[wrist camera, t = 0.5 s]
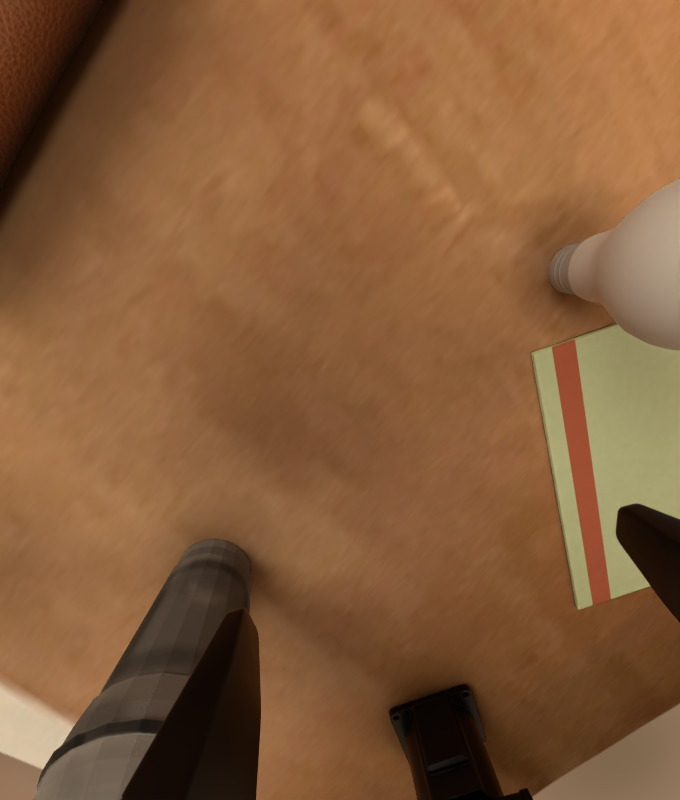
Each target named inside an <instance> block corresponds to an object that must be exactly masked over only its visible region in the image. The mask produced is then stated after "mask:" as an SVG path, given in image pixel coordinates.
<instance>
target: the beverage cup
mask: <svg viewBox="0 0 680 800" xmlns="http://www.w3.org/2000/svg"><path fill="white" fill-rule="evenodd" d="M250 572H251V568H250V561H249V559H248V557H247V556H246V554H245V552H243V551H242V550H241V549H240V548H239V547H238V546H236V545H234V544H232V543H230V542H228V541H223V540H217V539H214V540H204V541H201V542H199V543H196V544H194V545H193V546H191V547H190V548H189V549H187V550H186V551H185V553H184V554H183V556H182V558H181V559H180V561H179V563H178V565H177V566H175V568H174V569H173V571H172V573H171V574H170V576H169V577H168V579H167V581H166V583H165V584H164V586H163V588H162V589H161V591H160V593H159V594H158V596H157V598H156V599H155V601H154V603H153V605H152V606H151V608H150V610H149V611H148V613H147V615H146V616H145V618H144V620H143V622H142V623H141V625H140V627H139V628H138V630H137V632H136V633H135V635H134V637H133V638H132V640H131V642H130V644H129V645H128V647H127V649H126V650H125V652H124V654H123V655H122V657H121V659H120V660H119V662H118V664H117V666H116V667H115V669H114V671H113V672H112V674H111V676H110V677H109V679H108V681H107V683H106V684H105V686H104V688H103V689H102V691H101V693H100V694H99V696H97V697H96V698H95V699H94V700H93V701H92V702H91V704H90V705H89V706H88V708H87V709H86V711H85V712H84V713H83V715H82V716H81V717H80V719H79V720H78V722H77V723H76V724H75V726H74V727H73V729H72V730H71V732H70V733H69V735H68V737H67V738H66V740H65V742H64V743H63V745H62V746H61V747H60V748H58V749H57V750H56V751H54V753H53V754H52V756H51V757H50V759H49V761H48V762H47V764H46V766H45V767H44V769H43V770H42V772H41V775H40V778H39V782H38V785H37V792H36V795H35V797H34V799H33V800H119V799H122V793H123V791H124V789H125V788H126V786H127V784H128V783H129V781H130V779H131V777H132V776H133V774H134V772H135V770H136V769H137V767H138V765H139V763H140V762H141V760H142V758H143V757H144V755H145V753H146V751H147V750H148V748H149V746H150V744H151V743H152V741H153V739H154V738H155V736H156V734H157V732H158V731H159V729H160V727H161V725H162V724H163V722H164V720H165V718H166V717H167V715H168V713H169V712H170V710H171V708H172V706H173V705H174V703H175V701H176V699H177V698H178V696H179V694H180V693H181V691H182V689H183V687H184V686H185V684H186V682H187V680H188V679H189V677H190V675H191V674H192V672H193V670H194V668H195V667H196V665H197V663H198V661H199V660H200V658H201V656H202V654H203V653H204V651H205V649H206V648H207V646H208V644H209V642H210V641H211V639H212V637H213V635H214V634H215V632H216V630H217V629H218V627H219V625H220V623H221V622H222V620H223V618H224V616H225V615H226V614H227V613H228V612H229V611H231V610H235V609H239V608H246V609H247V611H248V613H249V608H250V592H251V586H250Z"/></svg>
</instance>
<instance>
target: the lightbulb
mask: <svg viewBox="0 0 680 800" xmlns="http://www.w3.org/2000/svg"><path fill="white" fill-rule="evenodd" d="M549 280H550V282H551V284H552V286H553V287H554V288H555V289H556V290H557V291H559V292H562V293H566V294H571V295H577V296H578V297H580V298H582V299H583V300H586V301H590V302H596V303H599V304H601V305H603V307H604V308H605V310H606V311H607V313H608V314H609V315H610V316H611V317H612V319H613V320H614V321H615V322H616V323H617V324H618V325H619V326H620V327H621V328H622V329H623V330H624V331H625V332H627V333H629V334H630V335H632V336H634V337H635V338H637V339H639V340H641V341H643V342H645V343H647V344H650V345H653V346H657V347H660V348H665V349H670V350H679V351H680V178H679V179H677V180H675V181H673V182H671V183H669V184H668V185H666V186H664V187H662V188H661V189H659V190H657V191H655V192H654V193H652V194H650V195H649V196H648V197H647V198H645V199H644V200H643V201H642V202H641V203H639V204H638V205H637V206H636V207H635V208H634V209H633V210H632V211H631V212H629V213H628V214H627V215H626V216H625V217H624V218H623V219H622V220H621V222H620V223H619V224H618V225H617V226H616V227H615V228H614V229H612V230H609V231H606V232H602V233H599V234H596V235H593V236H591V237H590V238H588V239H586V240H585V241H581V242H577V243H574V244H570V245H567V246H565V247H563V248H561V249H560V250H559V251H558V252H557V253H556V254H555V255H554V257H553V259H552V260H551V263H550V266H549Z"/></svg>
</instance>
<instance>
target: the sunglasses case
mask: <svg viewBox="0 0 680 800" xmlns="http://www.w3.org/2000/svg"><path fill="white" fill-rule="evenodd" d="M103 1H104V0H0V189H1V187H2V185H3V183H4V181H5V179H6V176H7V174H8V172H9V170H10V168H11V166H12V164H13V161H14V159H15V158H16V156H17V155H18V153H19V152H20V150H21V148H22V147H23V145H24V143H25V141H26V139H27V137H28V135H29V133H30V132H31V130H32V128H33V127H34V125H35V123H36V122H37V120H38V118H39V116H40V114H41V112H42V110H43V108H44V106H45V104H46V103H47V101H48V99H49V97H50V95H51V93H52V92H53V90H54V88H55V86H56V84H57V82H58V80H59V79H60V77H61V75H62V73H63V71H64V70H65V68H66V66H67V65H68V63H69V61H70V60H71V58H72V56H73V55H74V53H75V51H76V49H77V47H78V45H79V44H80V42H81V40H82V38H83V37H84V35H85V33H86V31H87V29H88V28H89V26H90V24H91V22H92V21H93V19H94V17H95V15H96V14H97V12H98V10H99V8H100V6H101V5H102V3H103Z"/></svg>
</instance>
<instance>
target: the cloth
mask: <svg viewBox="0 0 680 800" xmlns="http://www.w3.org/2000/svg"><path fill="white" fill-rule="evenodd" d="M531 357H532V363H533V368H534V374H535V380H536V385H537V391H538V396H539V402H540V408H541V413H542V419H543V425H544V430H545V436H546V442H547V447H548V453H549V458H550V464H551V470H552V475H553V481H554V487H555V492H556V498H557V503H558V509H559V515H560V520H561V526H562V532H563V537H564V543H565V548H566V554H567V560H568V565H569V571H570V577H571V582H572V588H573V593H574V599H575V605H576V608H577V609H578V610H580V609H583V608H586V607H589V606H592V605H595V604H598V603H601V602H605V601H608V600H611V599H613V598H616V597H619V596H622V595H625V594H628V593H631V592H634V591H637V590H640V589H643V588H646V587H649V586H650V584H649V583H648V582H647V580H646V579H645V577H644V576H643V575H642V573H641V572H640V571H639V569H638V568H637V566H636V565H635V564H634V562H633V561H632V560H631V558H630V557H629V555H628V554H627V553H626V551H625V550H624V549H623V547H622V546H621V544H620V543H619V541H618V539H617V537H616V522H617V513H618V510H619V508H620V507H623V506H626V505H630V504H635V503H638V504H642V505H645V506H647V507H650V508H652V509H655V510H657V511H660V512H662V513H665V514H668V515H670V516H673V517H675V518H678V519H680V351H679V350H670V349H665V348H660V347H657V346H653V345H650V344H647V343H645V342H643V341H641V340H639V339H637V338H635V337H634V336H632V335H630V334H629V333H627V332H625V331H624V330H623V329H622V328H621V327H620V326H619V325H618V324H617V323H616V324H613V325H610V326H607V327H604V328H602V329H599V330H596V331H593V332H590V333H587V334H584V335H581V336H578V337H575V338H572V339H570V340H567V341H564V342H561V343H558V344H555V345H552V346H549V347H546V348H543V349H540V350H538V351H535V352H532V353H531Z"/></svg>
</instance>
